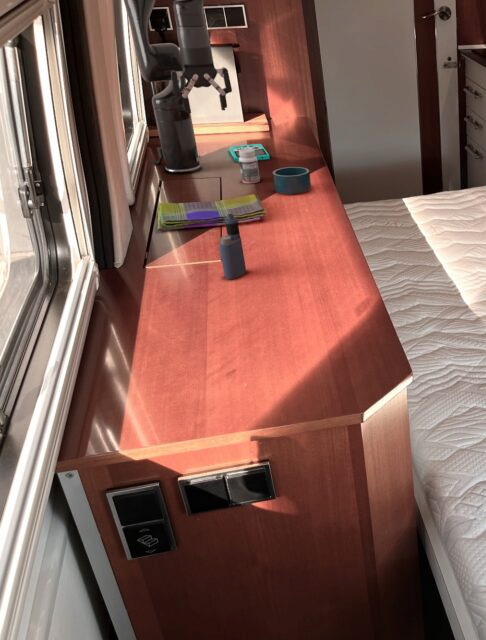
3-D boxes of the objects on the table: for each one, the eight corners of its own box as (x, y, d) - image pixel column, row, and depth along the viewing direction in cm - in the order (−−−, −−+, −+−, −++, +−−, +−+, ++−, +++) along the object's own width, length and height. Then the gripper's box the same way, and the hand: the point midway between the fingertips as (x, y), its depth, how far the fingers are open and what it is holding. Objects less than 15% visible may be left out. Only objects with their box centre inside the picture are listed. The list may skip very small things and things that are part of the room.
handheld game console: (262, 147, 254) (261, 142, 254) (270, 159, 242) (270, 154, 241) (229, 150, 251) (228, 145, 250) (236, 162, 238) (235, 157, 238)
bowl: (269, 189, 214) (266, 170, 212) (301, 183, 219) (299, 165, 217) (285, 197, 208) (282, 178, 206) (317, 191, 213) (315, 172, 211)
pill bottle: (244, 179, 223) (239, 148, 219) (261, 178, 223) (257, 148, 219) (240, 184, 219) (235, 152, 215) (258, 183, 219) (253, 152, 215)
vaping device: (249, 271, 164) (239, 213, 158) (233, 280, 160) (223, 221, 154) (238, 269, 165) (228, 212, 159) (222, 278, 160) (211, 220, 155)
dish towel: (158, 210, 198) (156, 199, 196) (261, 201, 205) (260, 190, 204) (158, 233, 184) (155, 221, 182) (268, 222, 191) (267, 210, 190)
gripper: (221, 41, 210) (232, 106, 218) (163, 44, 205) (176, 111, 213) (226, 45, 204) (236, 111, 212) (166, 48, 199) (179, 116, 207)
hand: (206, 111), depth 213 cm, fingers open, 8 cm apart
